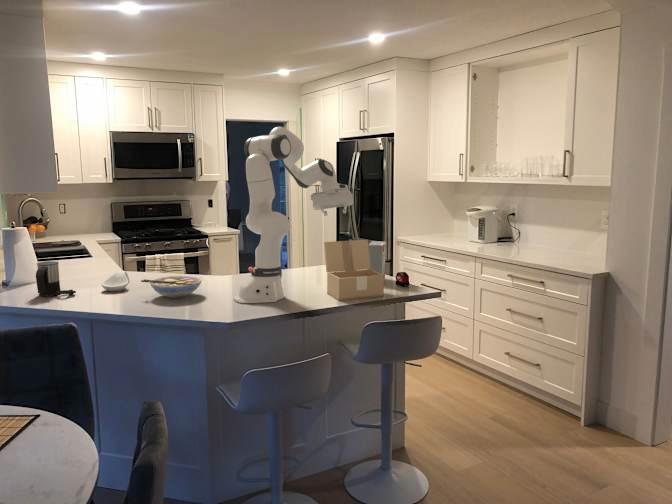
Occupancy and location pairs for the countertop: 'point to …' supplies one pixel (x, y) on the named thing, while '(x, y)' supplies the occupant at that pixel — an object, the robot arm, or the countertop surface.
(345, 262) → the lid
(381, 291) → the cardboard box
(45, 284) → the milk frother
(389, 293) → the countertop surface
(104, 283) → the spoon rest
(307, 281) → the countertop surface
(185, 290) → the ramen bowl
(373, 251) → the hard drive box
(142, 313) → the countertop surface
